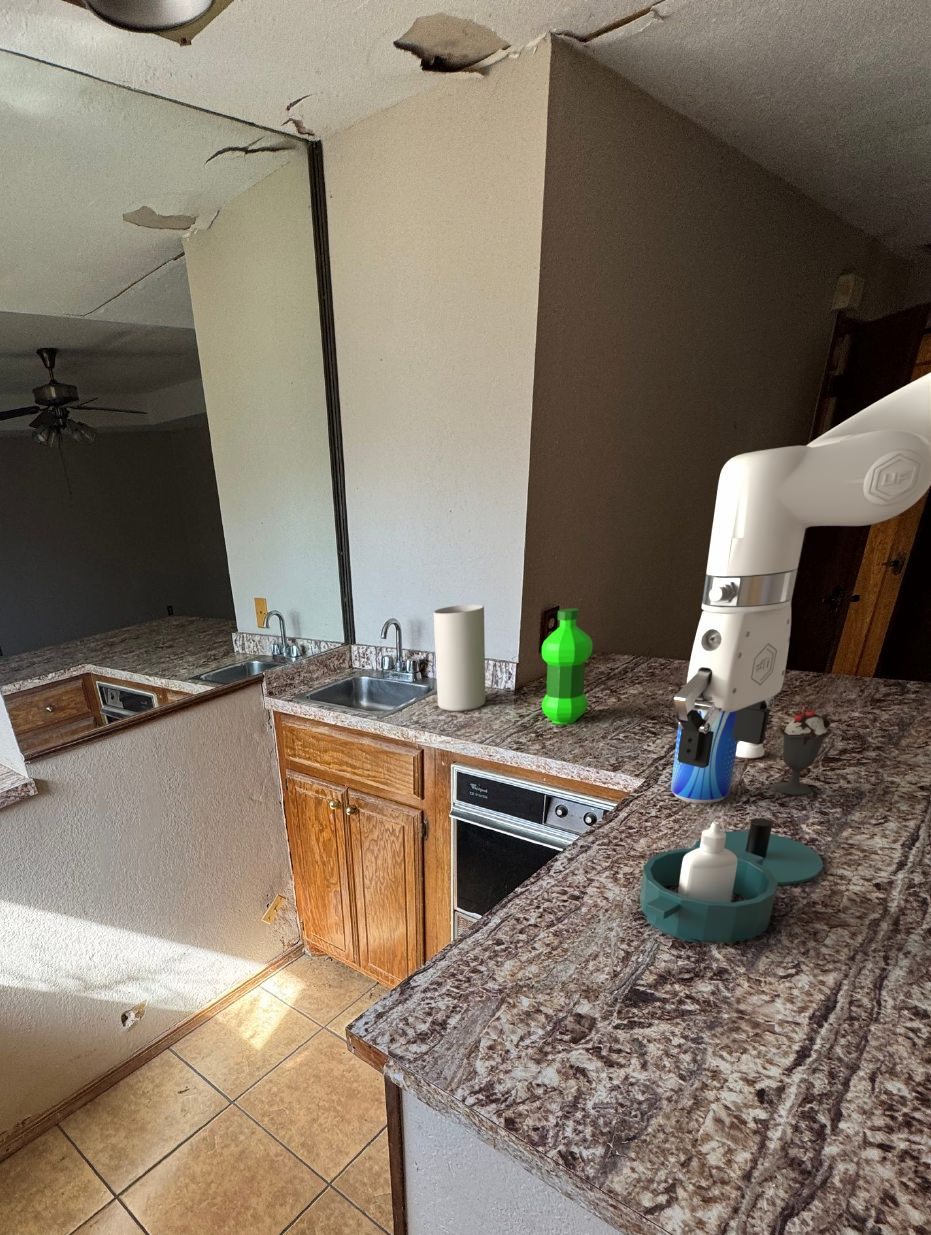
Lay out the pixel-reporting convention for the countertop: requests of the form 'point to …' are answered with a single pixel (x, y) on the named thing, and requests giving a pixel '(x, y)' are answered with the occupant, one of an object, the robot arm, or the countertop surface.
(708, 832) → the eye dropper bottle
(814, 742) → the sundae
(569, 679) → the plastic bottle
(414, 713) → the countertop surface
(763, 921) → the pot
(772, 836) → the lid
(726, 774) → the beer can
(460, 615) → the cylinder vase
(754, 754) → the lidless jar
